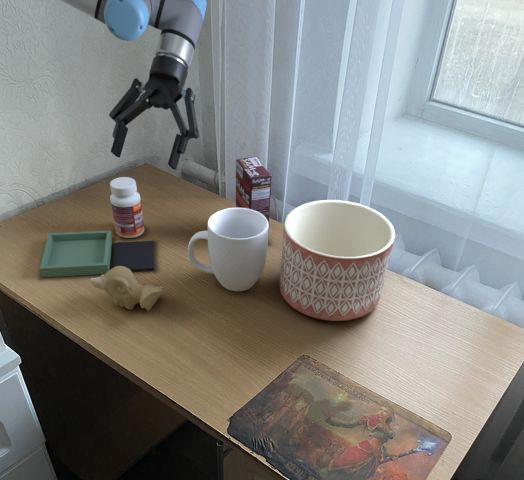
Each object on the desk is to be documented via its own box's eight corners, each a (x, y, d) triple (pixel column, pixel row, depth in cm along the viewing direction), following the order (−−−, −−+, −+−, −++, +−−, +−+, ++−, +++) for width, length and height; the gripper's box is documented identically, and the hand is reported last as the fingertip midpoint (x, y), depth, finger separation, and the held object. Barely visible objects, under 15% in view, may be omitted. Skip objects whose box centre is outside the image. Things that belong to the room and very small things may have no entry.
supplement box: (234, 227, 119) (234, 158, 108) (254, 224, 120) (256, 155, 109) (247, 248, 113) (249, 177, 102) (269, 244, 115) (273, 174, 104)
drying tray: (50, 241, 112) (48, 233, 110) (112, 239, 114) (110, 230, 112) (42, 277, 103) (39, 268, 102) (109, 273, 105) (107, 264, 103)
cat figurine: (153, 295, 91) (90, 264, 91) (142, 329, 94) (80, 299, 94) (171, 280, 98) (112, 251, 98) (159, 311, 101) (103, 284, 101)
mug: (185, 296, 101) (181, 235, 92) (193, 262, 109) (190, 204, 100) (264, 300, 101) (267, 240, 92) (266, 266, 109) (269, 208, 100)
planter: (296, 334, 94) (304, 264, 84) (267, 271, 107) (271, 204, 97) (395, 318, 98) (414, 250, 88) (355, 260, 112) (368, 195, 101)
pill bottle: (142, 239, 114) (136, 190, 106) (113, 238, 114) (105, 189, 106) (146, 224, 118) (140, 175, 111) (118, 223, 118) (110, 175, 110)
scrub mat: (115, 244, 112) (114, 242, 112) (153, 242, 113) (153, 240, 113) (112, 272, 105) (112, 270, 105) (154, 270, 106) (153, 268, 106)
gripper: (230, 83, 113) (202, 179, 114) (128, 65, 119) (101, 156, 119) (220, 62, 106) (190, 165, 106) (111, 44, 112) (83, 142, 112)
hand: (143, 161), depth 113 cm, fingers open, 13 cm apart
